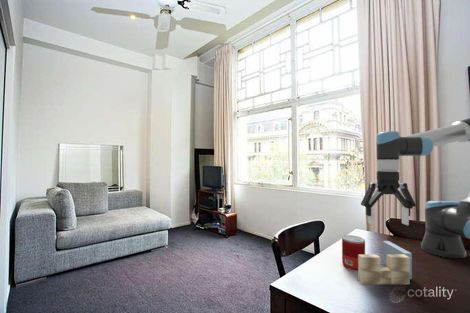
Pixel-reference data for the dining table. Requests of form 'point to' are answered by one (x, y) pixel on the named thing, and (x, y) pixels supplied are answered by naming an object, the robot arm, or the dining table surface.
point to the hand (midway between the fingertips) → (388, 224)
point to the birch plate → (383, 269)
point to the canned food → (352, 251)
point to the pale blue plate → (395, 252)
